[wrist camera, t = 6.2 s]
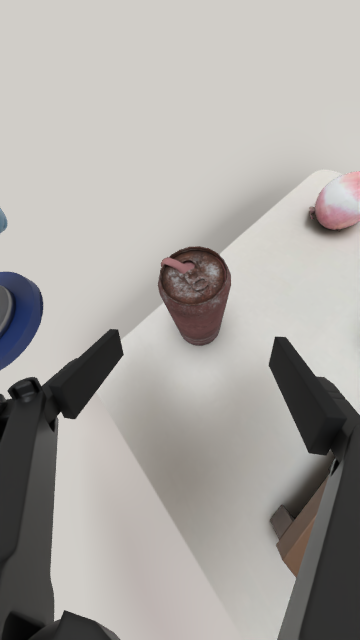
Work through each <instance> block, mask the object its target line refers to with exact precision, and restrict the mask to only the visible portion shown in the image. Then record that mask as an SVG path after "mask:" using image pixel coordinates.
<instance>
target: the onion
mask: <svg viewBox="0 0 360 640" xmlns="http://www.w3.org/2000/svg"><path fill="white" fill-rule="evenodd" d="M311 213H313V214H315V215H316V218H317V220H318V221H319V223H320V224H321V225H322V226H324V227H326V228H328V229H331V230H338V231H339V232H340V229H343V228H347V227H349V226H352V225H354V224H356V223H357V222H359V221H360V171H358V172H351V173H347V174H344V175H341V176H339V177H337V178H335V179H333V180H332V181H331V182H330V183H328V184H327V185H326V186H325V187H324V188H323V189H322V191H321V192H320V194H319V196H318V198H317V201H316V204H315V207H310V216H311V219H314V218H313V216H312V215H311Z"/></svg>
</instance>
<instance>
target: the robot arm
mask: <svg viewBox="0 0 360 640" xmlns="http://www.w3.org/2000/svg"><path fill="white" fill-rule="evenodd" d="M6 227H7V219H6V216H5V214H4V213H3V211H2V210H1V208H0V233H1V232H3V231H4V230H5V229H6ZM15 310H16V300H15V297H14V295H13V293H12V292H11V291H10V290H9V289H7V288H5V287H3V286H1V285H0V338H1V337H2V336H3V335H4V334H5V332H6V331H7V329H8V328H9V326H10V324H11V322H12V320H13V318H14V315H15ZM123 355H124V354H123V350H122V345H121V341H120V336H119V332H118V330H116V329H110V330H109V331H108V332H107V333H106V334H104V335H103V336H102V337H101V338H100V339H99V340H98V341H97V342H96V343H94V344H93V345H92V346H91V347H90V348H89V349H88V350H87V351H86V352H85V353H83V354H82V355H81V356H80V357H79V358H76V359H74V360H72V361H71V362H69V363H68V364H67V365H65V366H64V367H63V369H61V370H60V371H59V372H58V373H56V374H55V375H54V376H53V377H52V378H51V379H49V380H48V381H47V382H46V383H45V384H44V385H43V386H41V385H40V383H39V381H38V379H37V378H35V377H30V378H26V379H23V380H20V381H18V382H17V383H15V384H14V385H12V386H11V387H10V388H9V389H8V393H9V394H10V396H11V397H12V399H7V400H6V399H5V398H4V396H3V395H2V394H0V640H120V639H119V638H118V637H117V635H116V634H115V633H114V632H112V631H110V630H109V629H107V628H105V627H104V626H102V625H101V624H99V623H97V622H96V621H93V620H91V619H88V618H85V617H82V616H79V615H76V614H74V613H71V612H68V611H65V610H64V612H63V615H62V617H61V619H60V620H57V621H55V622H54V593H53V588H52V584H51V578H50V564H51V546H52V527H53V509H54V491H55V473H56V454H57V435H58V418H57V415H58V414H59V413H60V412H62V414H63V416H64V418H70V419H76V417H77V416H78V414H79V413H80V412H81V410H82V409H83V408H84V407H85V405H86V404H87V403H88V401H89V400H90V399H91V397H92V396H93V395H94V393H95V392H96V391H97V389H98V388H99V387H100V385H101V384H102V383H103V381H104V380H105V379H106V377H107V376H108V375H109V373H110V372H111V371H112V369H113V368H114V367H115V365H116V364H117V363H118V361H119V360H120V359H121V357H122V356H123ZM269 367H270V369H271V371H272V373H273V375H274V377H275V380H276V382H277V384H278V386H279V388H280V391H281V393H282V395H283V397H284V399H285V402H286V404H287V406H288V408H289V410H290V413H291V415H292V417H293V419H294V421H295V424H296V426H297V428H298V430H299V432H300V435H301V437H302V439H303V441H304V443H305V445H306V448H307V450H308V452H309V453H312V454H319V455H327V453H328V452H329V450H330V448H331V450H332V452H333V453H334V455H335V457H336V458H335V459H334V461H333V463H332V464H331V466H330V468H329V469H328V470H329V471H330V474H329V477H328V480H327V483H326V486H325V490H324V493H323V496H322V499H321V502H320V505H319V509H318V512H317V515H316V518H315V521H314V524H313V528H312V531H311V534H310V537H309V540H308V543H307V547H306V550H305V553H304V556H303V559H302V562H301V566H300V569H299V572H298V575H297V578H296V581H295V585H294V588H293V591H292V594H291V597H290V600H289V604H288V607H287V610H286V613H285V616H284V619H283V623H282V626H281V629H280V632H279V635H278V638H277V640H360V415H359V414H358V413H357V412H356V410H355V409H354V408H353V407H352V406H351V404H350V403H349V402H348V401H347V400H345V397H344V396H343V395H342V394H341V393H340V391H339V390H338V389H337V388H336V387H335V385H334V384H333V383H331V382H330V381H329V380H327V379H326V378H324V377H316V376H315V375H314V374H313V372H312V371H311V370H310V368H309V367H308V366H307V364H306V363H305V362H304V360H303V359H302V358H301V356H300V355H299V354H298V352H297V351H296V350H295V348H294V347H293V346H292V345H291V343H290V342H289V341H288V339H287V338H286V337H275V340H274V344H273V349H272V353H271V357H270V362H269Z"/></svg>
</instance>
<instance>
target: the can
mask: <svg viewBox="0 0 360 640" xmlns="http://www.w3.org/2000/svg"><path fill="white" fill-rule="evenodd" d="M161 267H162V268H161V270H160V276H159V282H158V287H159V292H160V295H161V297H162V299H163V301H164V303H165V305H166V307H167V309H168V311H169V313H170V314H171V316H172V318H173V320H174V322H175V324H176V326H177V328H178V330H179V331H180V333H181V335H182V337H183V338H184V339H185V340H186V341H187V342H189V343H191V344H193V345H205V344H208V343H210V342H212V341H213V340H214V339H215V338H216V337H217V335H218V333H219V330H220V326H221V322H222V318H223V314H224V310H225V306H226V302H227V298H228V294H229V290H230V287H231V274H230V272H229V269H228V267H227V265H226V263H225V261H224V259H223V258H222V257H221V256H220V255H219V254H218V253H216V252H215V251H213V250H211V249H209V248H204V247H188V248H184V249H181V250H179V251H177V252H175V253H174V254H172V255H171V256H170V257H169V258H168V257H167V258H165V259H163V260H162V262H161Z"/></svg>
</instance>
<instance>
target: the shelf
mask: <svg viewBox="0 0 360 640" xmlns="http://www.w3.org/2000/svg"><path fill="white" fill-rule="evenodd" d="M328 477H329V475H328V476H327V478H326V479H325V480H324V482H323V483H322V484H321V486H320V487H319V488H318V490H317V491H316V492H315V494H314V495H313V496H312V498H311V499H310V500H309V502H308V503H307V504H306V506H305V507H304V508H303V510H302V511H301V512H300V514H299V515H298V516H297V518H296V519H294V518H293V517H292V516H291V514H290V513H289V512H288V511H287V510H286V509H285V507H284V506H283V505H281V506H280V508H279V509H278V510H277V512H276V513H275V514H274V515H273V517H272V518H271V519H270V521H271V523H272V525H273V527H274V529H275V532H276V534H277V536H278V538H279V542H278V543H277V544H276V546H277V548H278V551H279V553H280V555H281V558H282V560H283V562H284V563H285V564H286V565H287V567H288V568H289V569H290V570H291V572H292V573H293V574H294V576H295V577H296V578H297V575H298V572H299V569H300V566H301V562H302V559H303V556H304V553H305V550H306V547H307V543H308V540H309V537H310V534H311V531H312V528H313V524H314V521H315V518H316V515H317V512H318V509H319V505H320V502H321V499H322V496H323V493H324V490H325V486H326V483H327V480H328Z"/></svg>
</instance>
